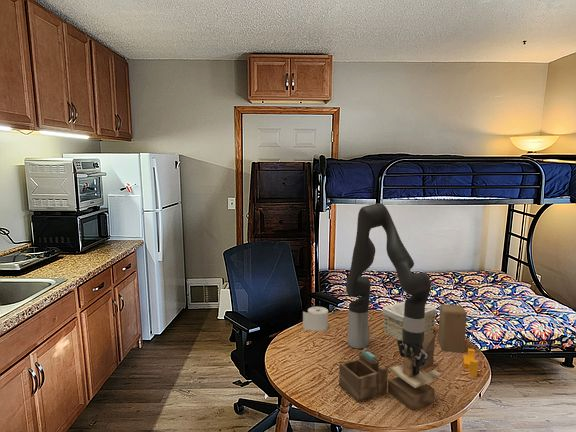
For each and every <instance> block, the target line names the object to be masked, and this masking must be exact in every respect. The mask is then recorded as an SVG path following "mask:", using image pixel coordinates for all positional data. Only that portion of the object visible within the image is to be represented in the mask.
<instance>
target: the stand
mask: <svg viewBox="0 0 576 432" xmlns="http://www.w3.org/2000/svg"><path fill="white" fill-rule="evenodd" d="M387 394H389V395H390V396H392V397H393V398H395V399H396V400H397V401H398V402H400V403H401V405H403V406H405V407H406V408H407V409H409V410H410V411H414V410H416V409H419V408H422V407H424V406H427V405H430V404H431V403H434V401H435V388H434V387H433V386H431V385H429V383H428V384H425V385H422V386H419V387H416V388H414V387H413V386H411V385H410V384H409V383H407V382H406V381H404V380H403V379H401V378H400V377H398V376H397V377H394V378H390V379H387Z"/></svg>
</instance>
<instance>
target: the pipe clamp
mask: <svg viewBox="0 0 576 432" xmlns="http://www.w3.org/2000/svg"><path fill="white" fill-rule="evenodd" d="M475 356H476V351H475V349H474V348H467V354H462V365H463V368H464V369H467V370H468V372H469V376H471V377H478V367H479V362H478V359H476V358H475Z"/></svg>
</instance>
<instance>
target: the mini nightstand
mask: <svg viewBox="0 0 576 432" xmlns="http://www.w3.org/2000/svg"><path fill="white" fill-rule="evenodd" d="M358 356H359V358H355V359H352V360H348V361H345V362H341V363H339V371H338V372H339V373H338V375H339V377H338V386H339V387H340V388H341V389H342V390H344V392H345V393H347V394H348V395H349V396H350V397H351V398H352V399H354V401H356V402H357V403H361V402H364V401H366V400H369V399H372V398H376V397H381V396H382V397H383V395H387V394H388V380H389V379H388V377H389V376H388V375H389V366H388V365H385V366H384V367H381V368H380V360H379V359H377V358H376V357H375V361H370V360H369V359H367V358H366V357H365V356H363V355H362V354H359V355H358Z"/></svg>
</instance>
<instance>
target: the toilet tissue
mask: <svg viewBox="0 0 576 432" xmlns="http://www.w3.org/2000/svg"><path fill="white" fill-rule="evenodd" d="M328 321H329V310H328V309H327V308H326V307H323V306H311V307H309V308H307V312H305V311H302V329H303V330H304V329H305V330H306V331H312V332H324V331H327V329H328V328H329V326H328V323H329V322H328Z"/></svg>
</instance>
